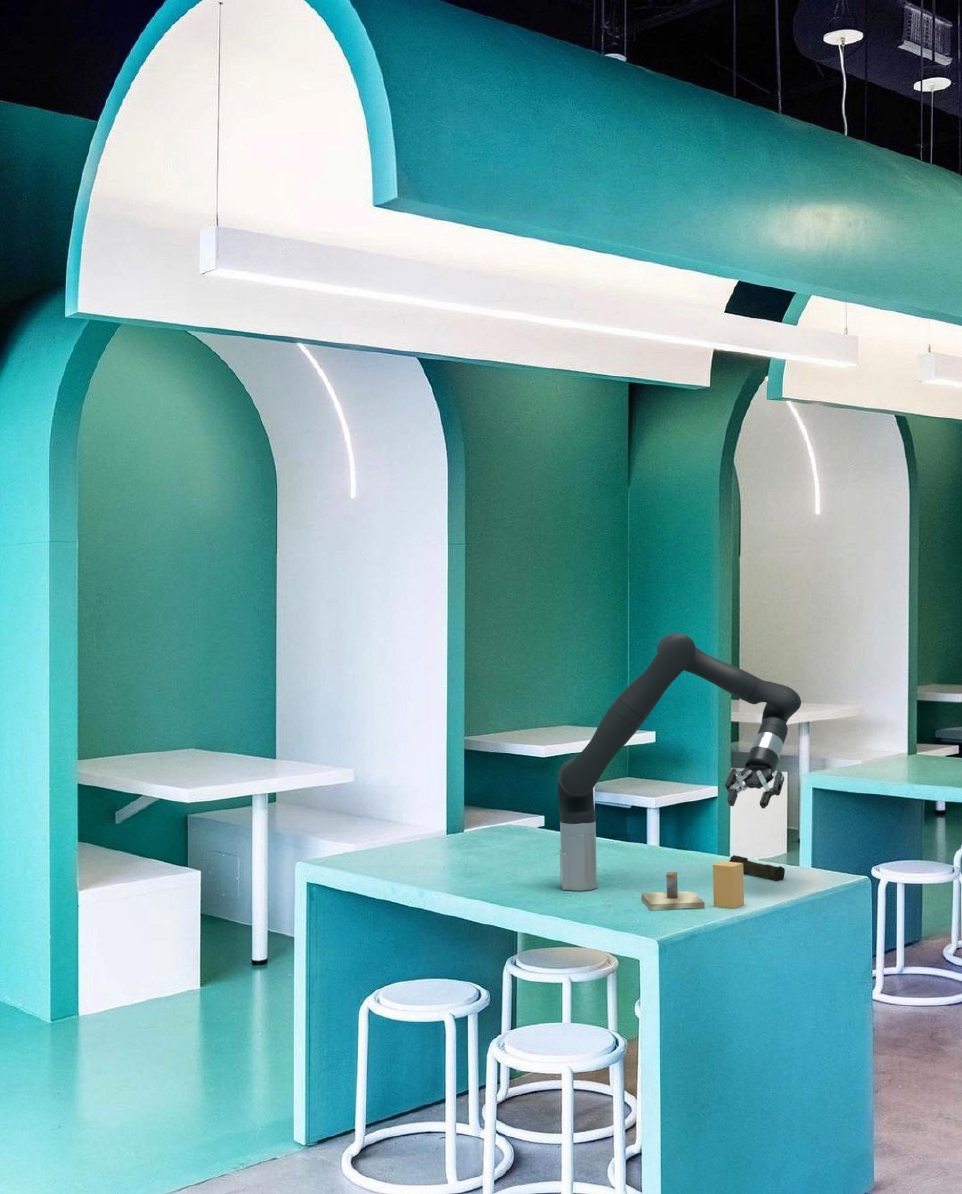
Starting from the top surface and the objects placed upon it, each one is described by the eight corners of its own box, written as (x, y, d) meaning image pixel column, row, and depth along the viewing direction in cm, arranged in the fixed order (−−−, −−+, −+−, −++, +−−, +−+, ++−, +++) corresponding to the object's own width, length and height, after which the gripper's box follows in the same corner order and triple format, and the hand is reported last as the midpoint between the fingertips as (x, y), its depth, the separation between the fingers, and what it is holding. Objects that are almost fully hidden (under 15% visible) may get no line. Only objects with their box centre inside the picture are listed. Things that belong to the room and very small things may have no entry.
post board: (650, 910, 331) (650, 879, 331) (641, 899, 344) (640, 869, 344) (704, 908, 332) (703, 877, 332) (693, 897, 345) (692, 867, 345)
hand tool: (786, 880, 364) (785, 863, 364) (775, 882, 362) (774, 865, 362) (737, 870, 380) (736, 853, 380) (726, 872, 378) (725, 855, 378)
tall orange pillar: (713, 906, 334) (712, 864, 334) (724, 902, 338) (722, 861, 338) (734, 908, 331) (733, 866, 331) (744, 904, 335) (743, 863, 335)
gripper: (734, 744, 355) (715, 794, 345) (786, 746, 346) (767, 797, 337) (744, 762, 359) (725, 813, 350) (795, 765, 350) (777, 816, 341)
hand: (746, 805), depth 343 cm, fingers open, 8 cm apart
